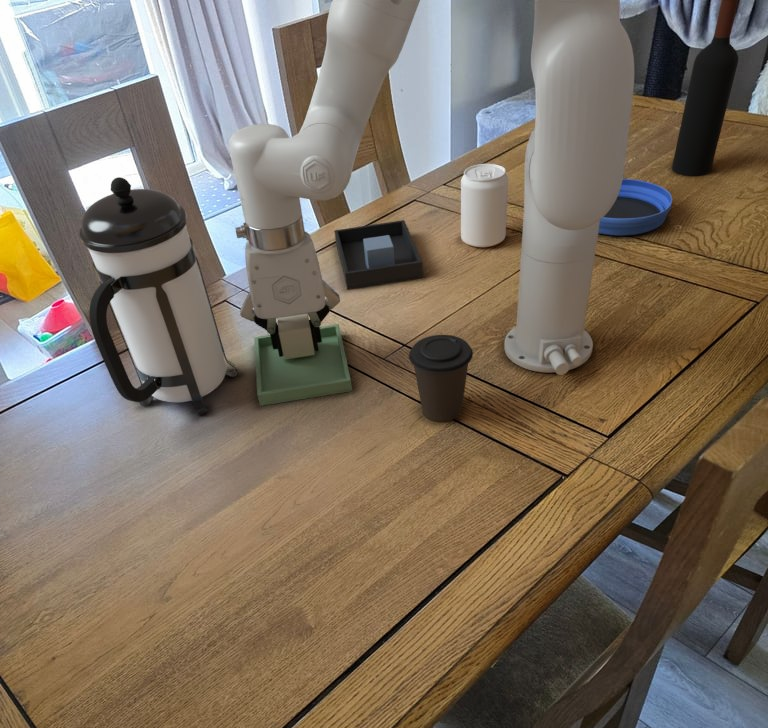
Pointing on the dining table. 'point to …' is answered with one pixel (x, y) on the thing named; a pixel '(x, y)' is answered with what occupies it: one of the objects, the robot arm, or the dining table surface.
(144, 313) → the coffee press
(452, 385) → the coffee cup
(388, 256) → the bluegrey block
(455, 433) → the dining table surface
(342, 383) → the dish
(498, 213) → the beverage can
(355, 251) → the black tray
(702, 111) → the wine bottle
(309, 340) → the cream block
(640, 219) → the bowl
